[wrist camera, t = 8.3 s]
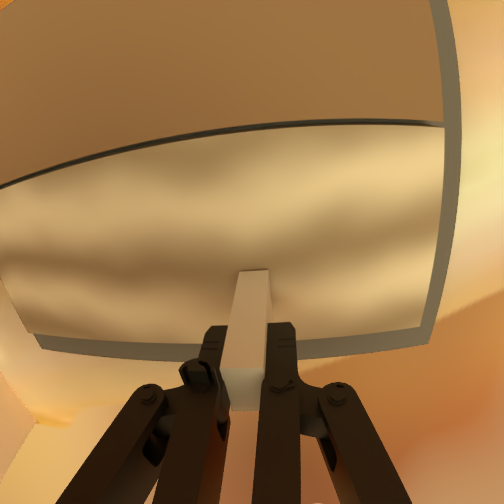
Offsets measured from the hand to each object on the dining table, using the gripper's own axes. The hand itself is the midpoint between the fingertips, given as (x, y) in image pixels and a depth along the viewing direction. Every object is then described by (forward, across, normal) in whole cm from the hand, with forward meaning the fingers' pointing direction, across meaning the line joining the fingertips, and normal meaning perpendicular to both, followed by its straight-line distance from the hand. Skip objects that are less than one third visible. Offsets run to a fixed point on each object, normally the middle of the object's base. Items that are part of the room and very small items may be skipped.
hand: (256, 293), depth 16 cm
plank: (+2, -5, +2) cm, 6 cm away
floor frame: (+3, -5, +8) cm, 10 cm away
